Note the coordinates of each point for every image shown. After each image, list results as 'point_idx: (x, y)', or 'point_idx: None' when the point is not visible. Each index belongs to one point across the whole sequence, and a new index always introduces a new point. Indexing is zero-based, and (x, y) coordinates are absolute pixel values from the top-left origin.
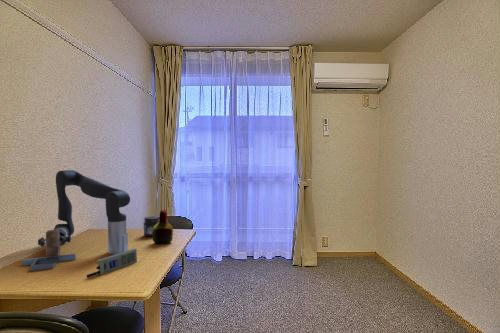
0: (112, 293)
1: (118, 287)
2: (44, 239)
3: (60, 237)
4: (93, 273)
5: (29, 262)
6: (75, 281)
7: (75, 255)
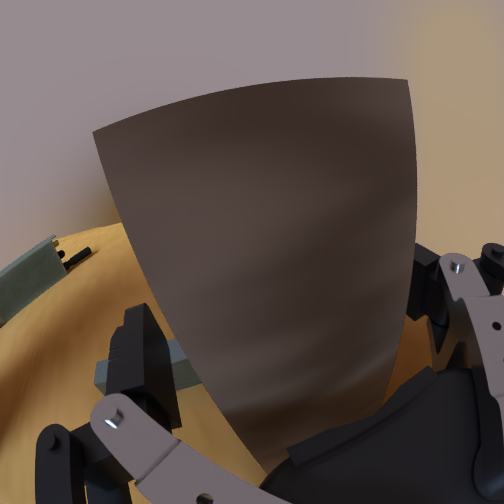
0: (74, 235)
1: (61, 246)
2: (472, 282)
3: (227, 472)
4: (76, 254)
5: None
6: (114, 243)
7: (99, 368)
